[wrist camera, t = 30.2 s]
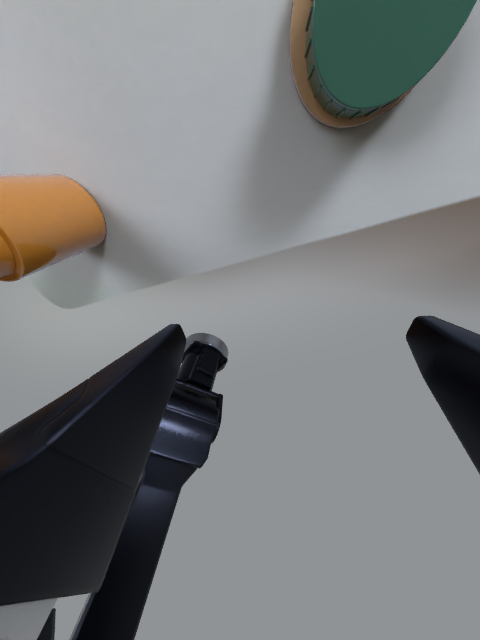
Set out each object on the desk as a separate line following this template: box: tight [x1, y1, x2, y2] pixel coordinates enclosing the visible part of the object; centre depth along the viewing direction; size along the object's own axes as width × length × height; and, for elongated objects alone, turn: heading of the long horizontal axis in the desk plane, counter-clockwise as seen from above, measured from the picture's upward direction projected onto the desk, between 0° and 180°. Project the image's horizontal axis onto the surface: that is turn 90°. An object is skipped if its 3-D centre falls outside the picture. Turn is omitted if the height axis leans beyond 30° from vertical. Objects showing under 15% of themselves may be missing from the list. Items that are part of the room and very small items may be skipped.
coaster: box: [289, 0, 415, 128], centre depth 9 cm, size 8×8×1 cm
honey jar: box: [0, 174, 106, 282], centre depth 14 cm, size 6×6×10 cm
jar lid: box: [304, 0, 477, 120], centre depth 9 cm, size 7×7×2 cm
